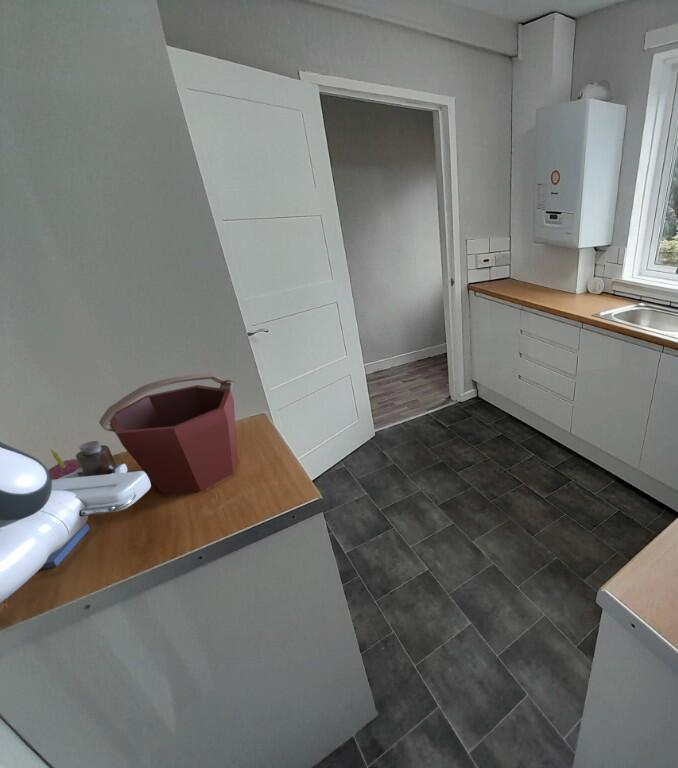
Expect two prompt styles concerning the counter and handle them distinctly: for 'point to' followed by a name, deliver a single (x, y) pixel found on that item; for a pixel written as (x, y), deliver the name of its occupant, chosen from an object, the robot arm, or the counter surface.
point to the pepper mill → (95, 459)
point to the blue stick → (65, 549)
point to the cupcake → (63, 467)
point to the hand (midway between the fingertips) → (104, 468)
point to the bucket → (179, 433)
